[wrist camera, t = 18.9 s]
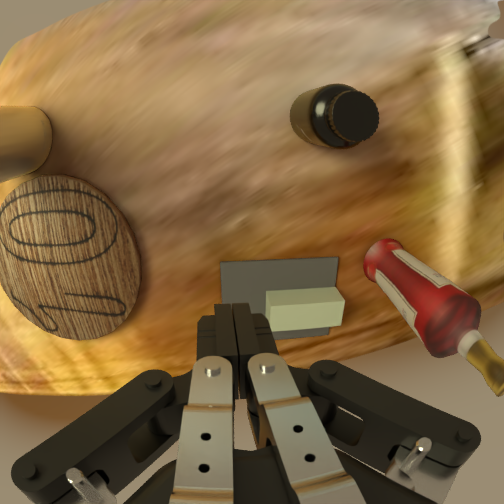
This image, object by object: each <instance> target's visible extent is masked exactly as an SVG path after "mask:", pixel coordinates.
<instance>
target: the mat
mask: <svg viewBox="0 0 504 504" xmlns="http://www.w3.org/2000/svg"><path fill="white" fill-rule="evenodd" d="M337 266H338V257H320V258H297V259H274V260H251V261H226V262H220V269H221V290H222V304H229V303H231V309H232V303H249V306H250V310H251V314H253V313H262V314H263V315H264V316H265V315H266V291H275V290H293V289H310V288H325V287H335V283H336V275H337ZM265 317H266V316H265ZM328 333H329V327H321V328H311V329H299V330H287V331H273V332H272V334H273V337H274V340H279V339H291V338H302V337H312V336H322V335H328Z"/></svg>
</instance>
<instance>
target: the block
mask: <svg viewBox="0 0 504 504" xmlns="http://www.w3.org/2000/svg"><path fill="white" fill-rule="evenodd" d="M344 304H345V300H344V299H343V297H342V296H341V294H340V293H339V291H338V290H337V288H336V287H325V288H310V289H293V290H275V291H266V315H265V316H266V318H267V319H268V321H269V324H270V328H271V331H272V332H273V331H287V330H299V329H311V328H321V327H331V326H341V322H342V316H343V310H344Z"/></svg>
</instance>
